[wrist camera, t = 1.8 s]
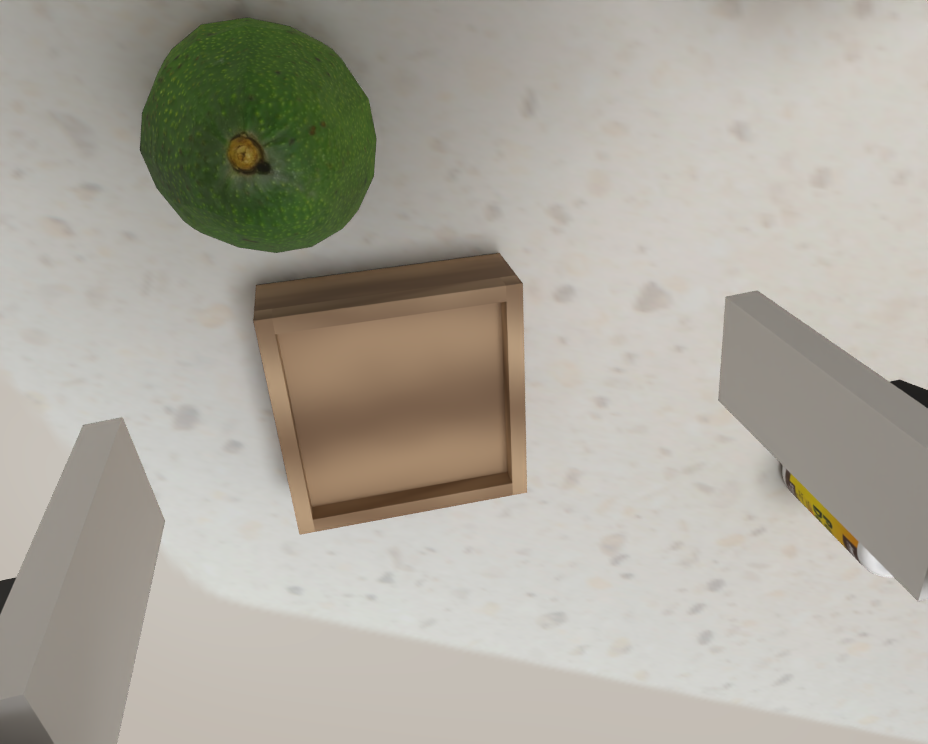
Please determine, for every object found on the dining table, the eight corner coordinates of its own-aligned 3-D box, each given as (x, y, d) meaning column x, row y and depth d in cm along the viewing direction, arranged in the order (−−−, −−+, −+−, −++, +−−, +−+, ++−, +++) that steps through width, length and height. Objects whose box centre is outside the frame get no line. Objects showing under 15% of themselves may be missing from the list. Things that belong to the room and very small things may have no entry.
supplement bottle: (760, 473, 47) (872, 590, 38) (821, 405, 45) (953, 510, 36) (814, 503, 49) (931, 620, 40) (874, 439, 47) (1010, 546, 39)
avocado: (355, 10, 30) (396, 33, 19) (367, 204, 33) (406, 310, 23) (144, 12, 28) (65, 37, 18) (181, 215, 32) (134, 333, 22)
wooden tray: (255, 285, 34) (253, 320, 31) (499, 253, 36) (522, 283, 32) (297, 485, 40) (299, 534, 36) (506, 448, 41) (526, 492, 38)
